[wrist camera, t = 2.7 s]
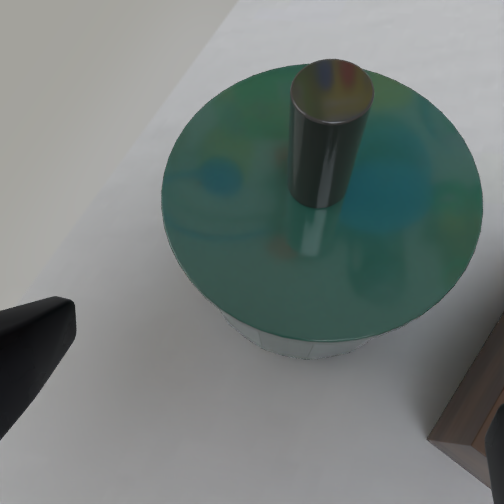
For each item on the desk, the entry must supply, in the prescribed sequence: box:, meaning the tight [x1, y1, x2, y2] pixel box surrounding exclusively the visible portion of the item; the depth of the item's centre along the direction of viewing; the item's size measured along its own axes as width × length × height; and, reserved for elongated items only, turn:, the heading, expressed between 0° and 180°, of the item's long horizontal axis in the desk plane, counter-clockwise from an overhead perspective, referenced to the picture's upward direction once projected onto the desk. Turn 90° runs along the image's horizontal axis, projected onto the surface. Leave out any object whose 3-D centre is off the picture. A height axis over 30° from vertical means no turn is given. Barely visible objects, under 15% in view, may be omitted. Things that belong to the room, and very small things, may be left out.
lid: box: [161, 59, 483, 345], centre depth 15 cm, size 13×13×6 cm
